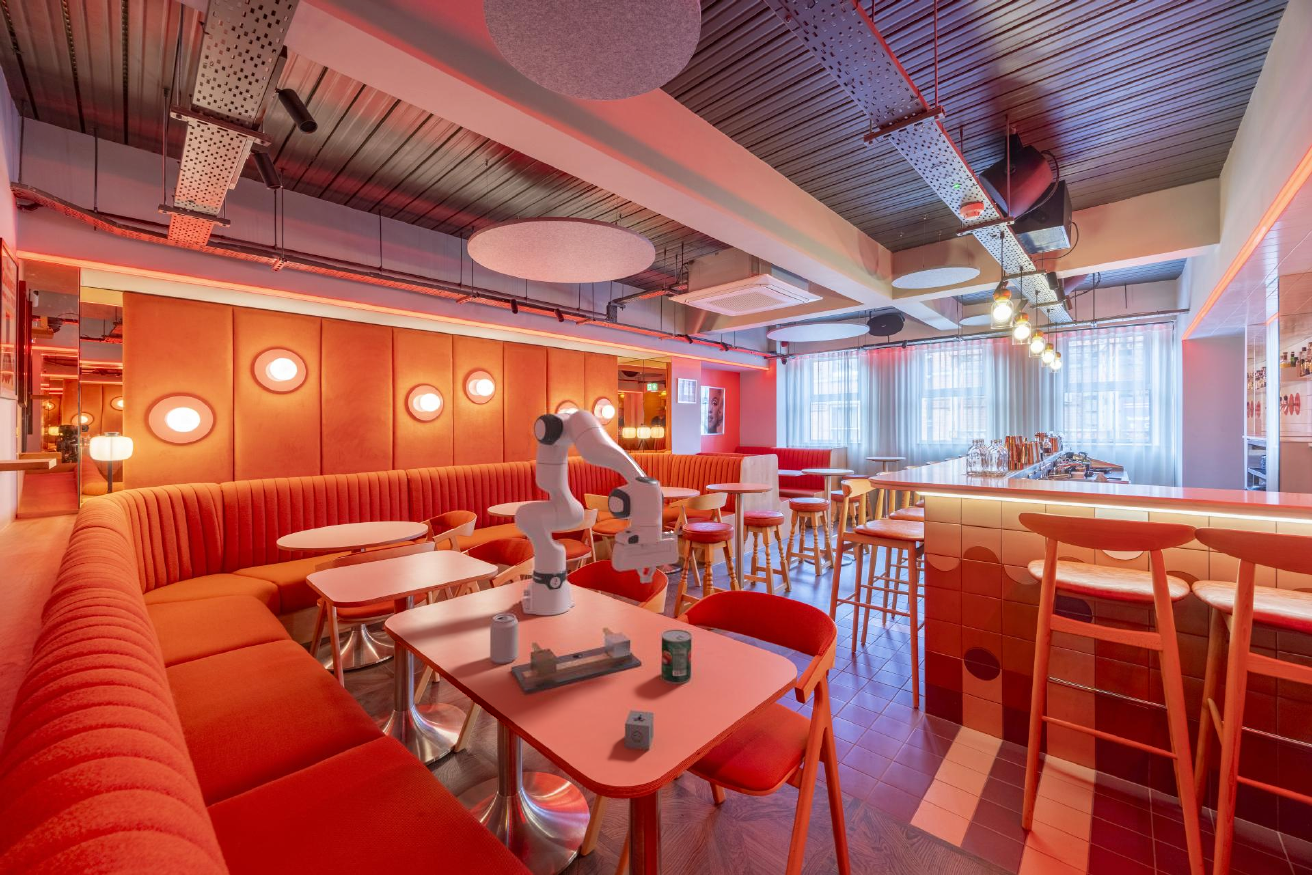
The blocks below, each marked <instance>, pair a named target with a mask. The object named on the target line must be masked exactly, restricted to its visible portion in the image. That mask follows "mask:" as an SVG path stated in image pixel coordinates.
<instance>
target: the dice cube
mask: <svg viewBox="0 0 1312 875" xmlns="http://www.w3.org/2000/svg"><path fill="white" fill-rule="evenodd" d="M654 716H655V714H654V712H652V711H641V710H629V713H628V715H627V718H626V719H625V720H626V721H625V722H624V748H627V749H634V750H644V751H646V750H647V751H650V749H651V745H652V742H653V739H654V719H655V718H654Z"/></svg>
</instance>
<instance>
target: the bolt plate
mask: <svg viewBox="0 0 1312 875" xmlns="http://www.w3.org/2000/svg"><path fill="white" fill-rule="evenodd" d="M531 648H532V649H533V651H530V662H527V663H524V664H519V665H515V666H511V667H510V669H511V673H512V675H513V676H514V677H515V679H516V681H517V683H518V684H519V686H520V688H521V690H522V691H523V693H524V694H525V695H529V694H532V693H536V692H540V691H544V690H549V689H553V688H557V687H560V686H565V685H568V684H573V683H577V682H580V681H584V680H589V679H592V678H597V677H601V676H604V675H605V676H606V675H609V674H613V673H616V672H621V671H625V670H629V669H634V668H636V667H637V668H638V667H641V666H642V664H643V663H642V661H641V659H639V658H638V657H637V656H635V655H634V654H633V651H632V650H630V655H626V656H621V657H617V658H613V657H612V656H611V655H609V654H608V653H607V652H606V651H605V646H602V647H601V646H600V647H595V648H592V649H591V648H590V649H588V650H584V651H583V650H582V651H578V652H573V653H569V654H565V655H559V656H557V655H556V654H554V652H553V651H552V650H551V649H550V648H545V649H542V648H541V647H540V645H539V644H538V643H537V642H531Z"/></svg>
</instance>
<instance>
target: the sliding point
mask: <svg viewBox="0 0 1312 875" xmlns="http://www.w3.org/2000/svg"><path fill="white" fill-rule="evenodd" d="M602 632H603V633H604V647H605V651H606V652H607V653H608V654H609V655H611V656H612V657H613V658H617V657H621V656H626V655H630V651H631V639H630V638H628V637H627V636H626V635H625V634H623V633H622V632H617V633H614V632H613V631H612V630H610V629H609V627H603V628H602Z"/></svg>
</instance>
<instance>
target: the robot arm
mask: <svg viewBox="0 0 1312 875" xmlns="http://www.w3.org/2000/svg"><path fill="white" fill-rule="evenodd" d="M533 432H534V436H535V438H536V441H538V444H537V450H536V461H535V462H536V463H535V483H536V485H537V487H538V488H540V489H541V490H542V491H544V492H546V493H548V495H549V500H546V501H545V500H544V501H531V502H528V503H526V504H522V505H519V506H518V507H517V509H516V511H515V513H514V523H515V527H516V528H517V530H518V531H519V532H521V533H522V534H523V535H525V537H527V538H528V540H529V542H530V543H531V545H532V550H533V560H534V567H533V568H534V569H533V572H532V580H531V582H529V584H528V585H527V589H524V590H523V597H522V598H521V599H520V602H521V608H522V610H523V612H522V613H523V614H527V615H528V614H529V615H530V614H531V615H537V616H555V615H561V614H563V613H566V612H568V611H569V610H570V609H571V608H573V607H574V606H575V605H576V602H575V601H574V600H572V589H571V587H572V586H571V583H570V582H569V581H568V580H567V579H568V569H567V565H566V564H567V557H566V555H567V550H566V548H565V546H564V545H563V544H562V543H561V542H559V541H557V540H555V539H553V535H552V533H553V532H558V531H565V530H571V529H574V528H576V527H579V526H580V525H581V524H582V523H583V521H584V519H585V510H584V506H583V505H582V503H581V502H580V501H578V499H576V498H575V497H574V495H573V494H572V492H571V490H570V486H569V481H568V480H569V478H568V464H569V463H568V462H569V461H568V456H569V455H568V454H569V448H570V447H571V446H574V447H575V449H576V450H577V453H578V454H579V456H580V457H581V458H582V460H584V461H585V462H586V463H588V464H589V465H592V466H597V467H602V468H606V469H609V470H613V471H615V472H617V473H619V474H620V475H621V476H622V477H623V478H624V479H625V481H626V482H627V484H625V485H622V486H619V487H616V488H613V489H612V490H611V491H610V493H609V495H608V498H607V507H608V510H609V513H610V514H611V515H612V516H613V518H615V519H619V520H627V519H630V521H631V523H630V526H629V527H628V528H626V529H623V530H622V531H621V530H620V531H619V532H617V533H616V534H615V535H614V540H615V541H616V542H615V544H614V545H613V549H612V555H611V556H612V557H611V566H612V567H613V569H614V570H616V571H618V572H623V571H625V572H626V571H631V570H636V572H637V573H638V575H639V581H640V583H642V584H645V583H646V584H647V583H653V582H652V581H653V575H655V574H654V573H655V572H656V571H657V570H656V568H657V567H659V566H660V567H661V566H666V565H673V564H677V563H678V561H679V558H680V556H679V547H678V540H679V539H678V537H679V536H678V535H677V533H676V532H674V531H672V530H671V531H663V522H662V518H661V515H662V511H663V510H662V509H663V508H664V504H665V496H664V493H663V491H662V487H661V483H660V481H659V480H657V479H656V478H654V477H651V476H647V474H646V473H645V472H644V471H643V469H641V466H640V465H638V463H637V462H636V461H635V460H634V458H633V457H632V456H631V455H630V454H629V453H628V451H626V450H625V449H624V448H623V447H621V446H620V445H618V444H617V443H616V441H614V440H613V438H612V437H611V436H610V435H609V434H608V432H607V431H606V428H605V427H604V426H603V424H602V423H601V422H600V421H599V419H598V418H597V417H596V415H594V414H593V413H592V412H591V411H589V410H586V409H579V410H576V411H575V412H573V413H571V412H565V413H553V414H552V413H546V414H543V415H539V416H538V417H537V419H536V421H535V423H534V426H533ZM645 568H646V569H648V571H647V574H645V573H644V572H645Z"/></svg>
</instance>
